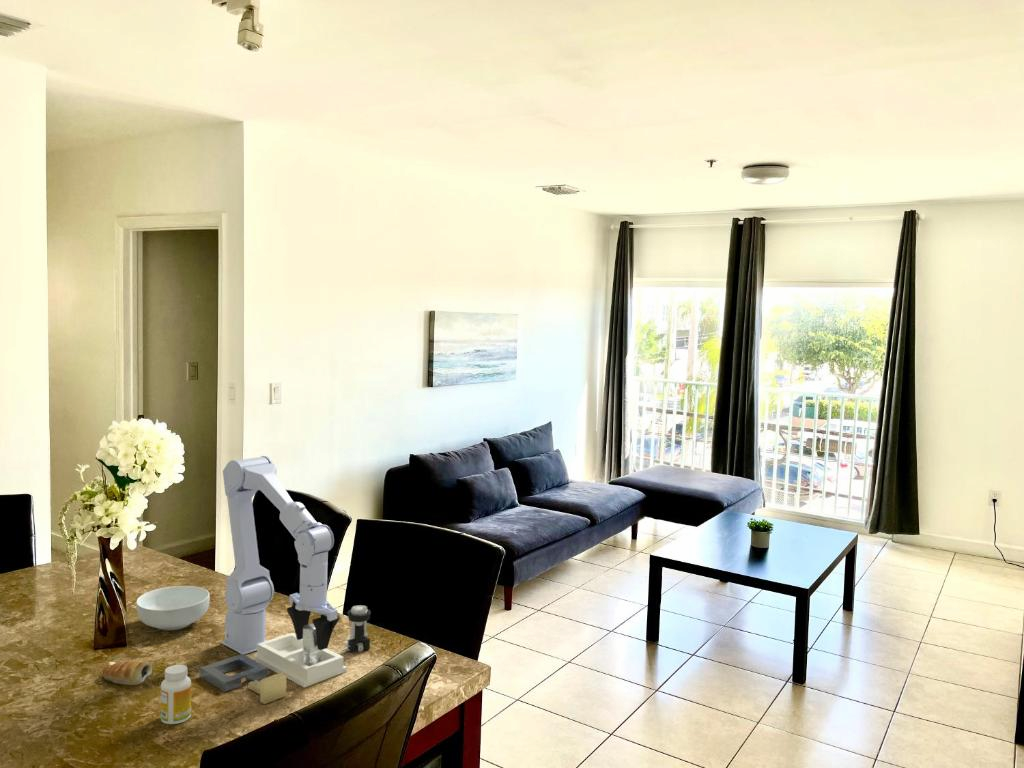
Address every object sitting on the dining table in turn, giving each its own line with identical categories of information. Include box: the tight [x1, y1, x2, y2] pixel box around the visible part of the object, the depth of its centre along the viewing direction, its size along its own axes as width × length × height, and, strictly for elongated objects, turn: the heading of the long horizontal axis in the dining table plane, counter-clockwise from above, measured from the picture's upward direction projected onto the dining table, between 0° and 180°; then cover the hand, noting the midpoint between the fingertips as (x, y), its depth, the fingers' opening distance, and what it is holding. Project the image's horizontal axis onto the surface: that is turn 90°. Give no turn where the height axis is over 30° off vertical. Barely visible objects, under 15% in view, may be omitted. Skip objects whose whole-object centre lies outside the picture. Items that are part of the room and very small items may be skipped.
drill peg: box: [302, 623, 321, 666], centre depth 176 cm, size 4×4×9 cm
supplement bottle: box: [160, 664, 192, 725], centre depth 154 cm, size 5×5×10 cm
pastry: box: [101, 659, 153, 686], centre depth 170 cm, size 9×7×4 cm
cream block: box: [247, 672, 287, 705], centre depth 165 cm, size 8×5×4 cm, turn 50°
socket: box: [199, 653, 269, 693], centre depth 172 cm, size 10×10×2 cm
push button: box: [341, 604, 372, 653], centre depth 188 cm, size 7×5×10 cm
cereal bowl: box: [135, 585, 211, 631], centre depth 199 cm, size 17×17×7 cm
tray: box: [253, 632, 348, 688], centre depth 179 cm, size 19×11×4 cm, turn 50°
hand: (312, 643), depth 176 cm, fingers open, 7 cm apart
